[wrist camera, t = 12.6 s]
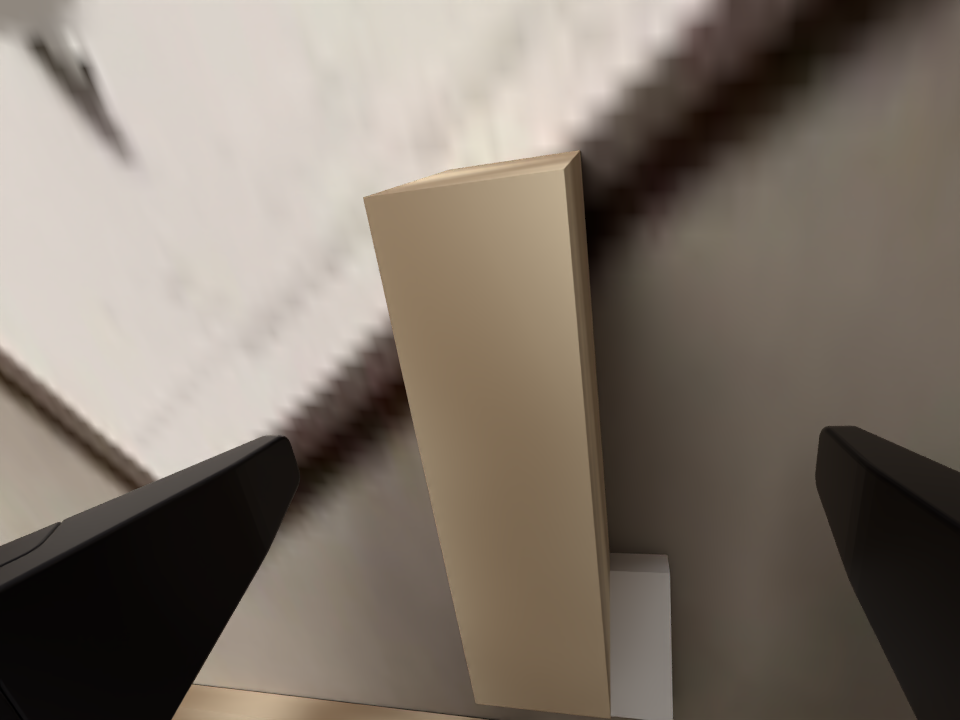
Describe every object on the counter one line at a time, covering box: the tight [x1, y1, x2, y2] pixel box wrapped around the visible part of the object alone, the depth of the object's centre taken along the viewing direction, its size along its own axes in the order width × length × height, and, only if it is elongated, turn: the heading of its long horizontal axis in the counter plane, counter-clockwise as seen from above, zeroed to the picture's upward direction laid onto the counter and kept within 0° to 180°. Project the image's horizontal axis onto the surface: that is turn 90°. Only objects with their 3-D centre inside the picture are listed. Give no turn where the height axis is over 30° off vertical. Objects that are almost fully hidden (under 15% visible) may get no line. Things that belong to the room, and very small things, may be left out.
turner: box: [363, 150, 673, 720], centre depth 11 cm, size 5×14×4 cm, turn 9°
